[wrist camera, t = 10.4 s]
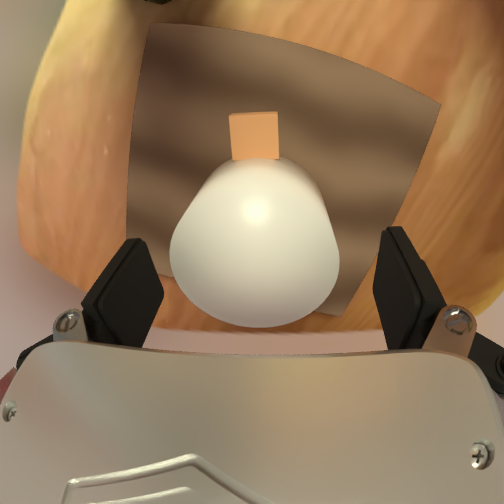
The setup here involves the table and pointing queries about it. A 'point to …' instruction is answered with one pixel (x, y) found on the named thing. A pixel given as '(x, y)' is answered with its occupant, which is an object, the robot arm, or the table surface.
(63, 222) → the table surface
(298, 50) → the post board
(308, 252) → the light bulb
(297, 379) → the robot arm
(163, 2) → the wine bottle
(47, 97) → the table surface
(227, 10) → the table surface
